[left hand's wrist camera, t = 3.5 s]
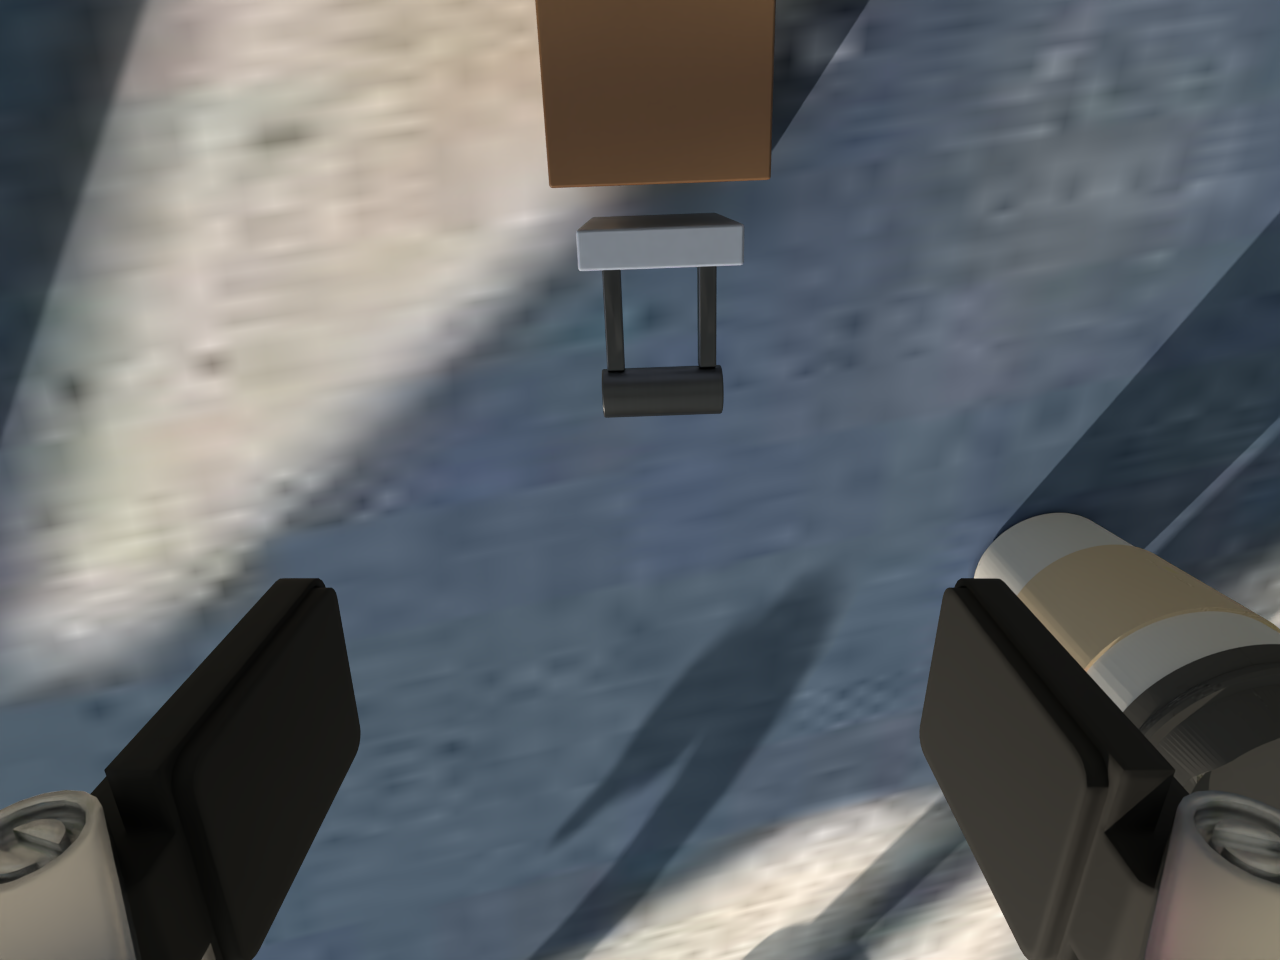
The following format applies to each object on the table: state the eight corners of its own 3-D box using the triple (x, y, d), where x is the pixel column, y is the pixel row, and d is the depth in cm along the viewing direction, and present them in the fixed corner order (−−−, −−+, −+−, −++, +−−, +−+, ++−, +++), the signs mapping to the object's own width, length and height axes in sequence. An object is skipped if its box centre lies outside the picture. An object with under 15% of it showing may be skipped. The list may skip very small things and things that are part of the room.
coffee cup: (1165, 589, 37) (1482, 834, 23) (1002, 680, 39) (1203, 955, 25) (1088, 455, 34) (1396, 640, 20) (918, 559, 36) (1091, 794, 22)
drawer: (716, 372, 32) (741, 432, 25) (600, 376, 32) (589, 437, 25) (719, -427, 23) (761, -733, 15) (555, -420, 23) (514, -721, 15)
